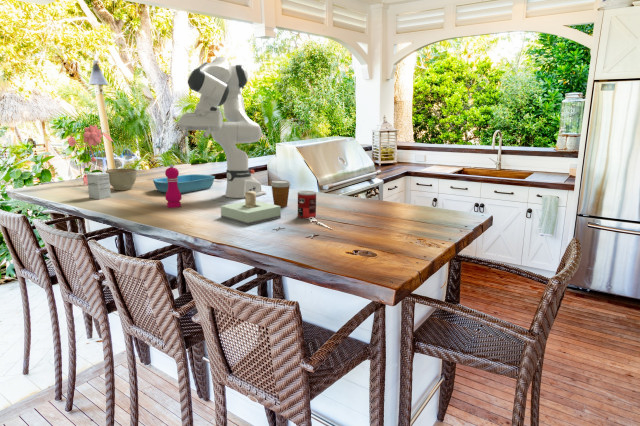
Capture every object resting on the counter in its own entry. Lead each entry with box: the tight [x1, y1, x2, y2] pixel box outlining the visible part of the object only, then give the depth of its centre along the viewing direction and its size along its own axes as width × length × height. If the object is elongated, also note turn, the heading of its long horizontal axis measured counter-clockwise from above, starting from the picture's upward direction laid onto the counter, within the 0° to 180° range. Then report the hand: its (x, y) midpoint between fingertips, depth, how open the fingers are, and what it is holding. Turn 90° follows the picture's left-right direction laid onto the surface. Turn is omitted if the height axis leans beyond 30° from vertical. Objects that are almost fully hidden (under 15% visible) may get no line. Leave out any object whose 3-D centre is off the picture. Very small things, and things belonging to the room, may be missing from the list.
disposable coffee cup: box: [270, 179, 291, 208], centre depth 207 cm, size 10×10×12 cm
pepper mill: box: [164, 163, 182, 209], centre depth 201 cm, size 7×7×20 cm
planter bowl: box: [105, 168, 138, 191], centre depth 242 cm, size 16×16×11 cm
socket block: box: [220, 200, 282, 226], centre depth 184 cm, size 18×18×5 cm
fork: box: [308, 217, 331, 228], centre depth 173 cm, size 3×20×2 cm, turn 32°
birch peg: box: [244, 191, 257, 208], centre depth 183 cm, size 4×4×10 cm
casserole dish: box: [152, 173, 216, 194], centre depth 245 cm, size 37×22×7 cm, turn 149°
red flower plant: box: [67, 124, 114, 187], centre depth 252 cm, size 15×26×35 cm, turn 152°
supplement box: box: [86, 171, 111, 200], centre depth 218 cm, size 7×7×13 cm
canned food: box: [297, 190, 317, 219], centre depth 186 cm, size 8×8×11 cm
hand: (195, 135), depth 191 cm, fingers open, 8 cm apart
